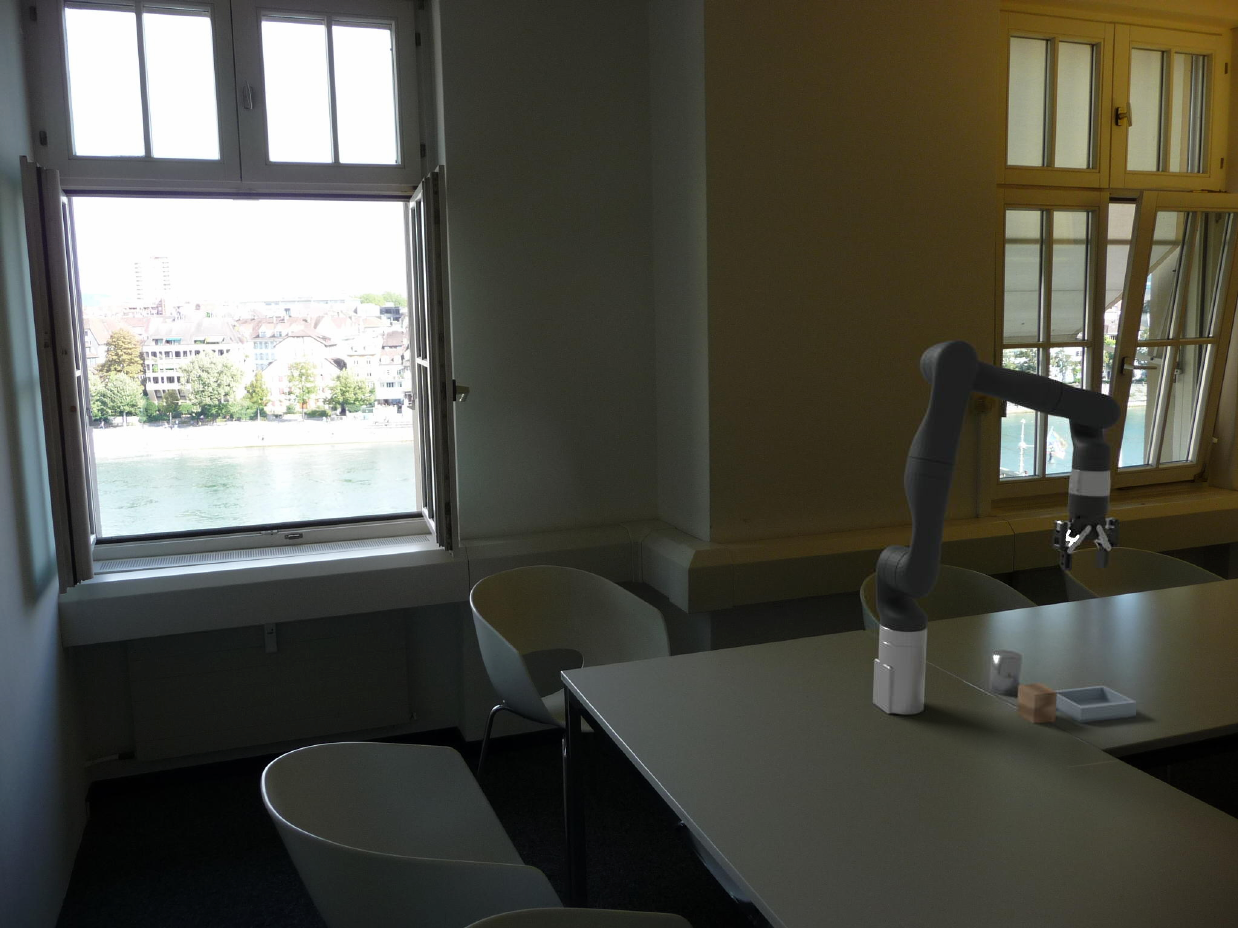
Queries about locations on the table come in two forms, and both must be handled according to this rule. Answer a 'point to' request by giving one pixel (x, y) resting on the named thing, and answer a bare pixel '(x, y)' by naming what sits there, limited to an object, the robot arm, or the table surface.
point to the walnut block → (1036, 703)
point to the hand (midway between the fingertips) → (1083, 569)
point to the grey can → (1005, 672)
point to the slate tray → (1094, 704)
